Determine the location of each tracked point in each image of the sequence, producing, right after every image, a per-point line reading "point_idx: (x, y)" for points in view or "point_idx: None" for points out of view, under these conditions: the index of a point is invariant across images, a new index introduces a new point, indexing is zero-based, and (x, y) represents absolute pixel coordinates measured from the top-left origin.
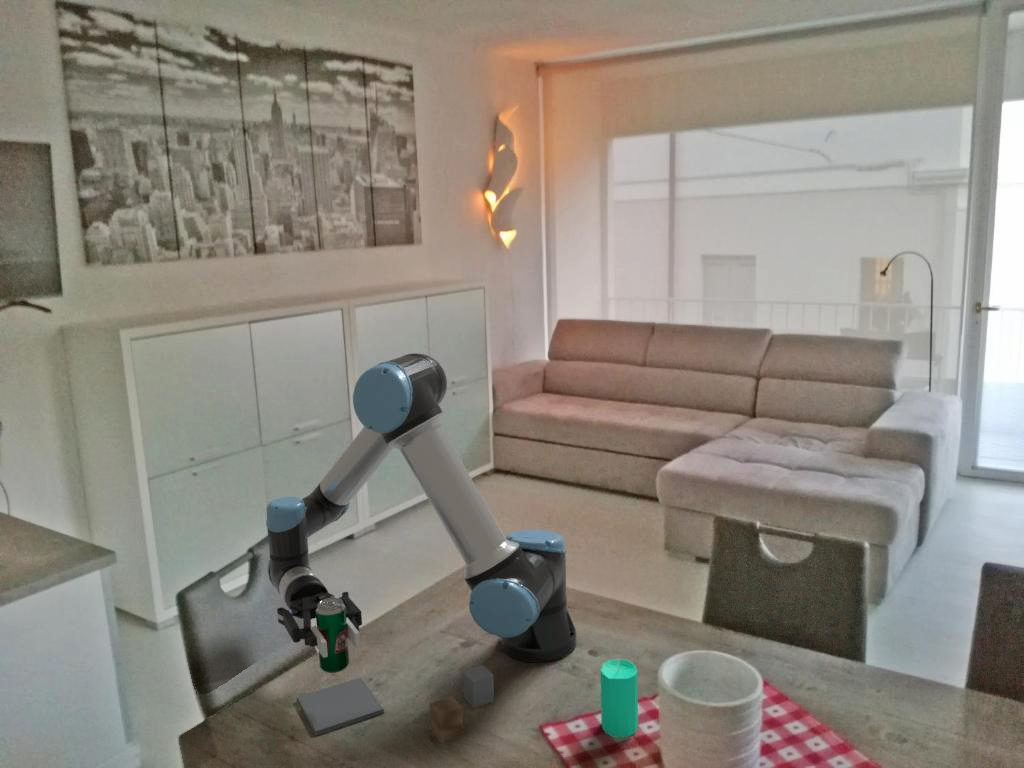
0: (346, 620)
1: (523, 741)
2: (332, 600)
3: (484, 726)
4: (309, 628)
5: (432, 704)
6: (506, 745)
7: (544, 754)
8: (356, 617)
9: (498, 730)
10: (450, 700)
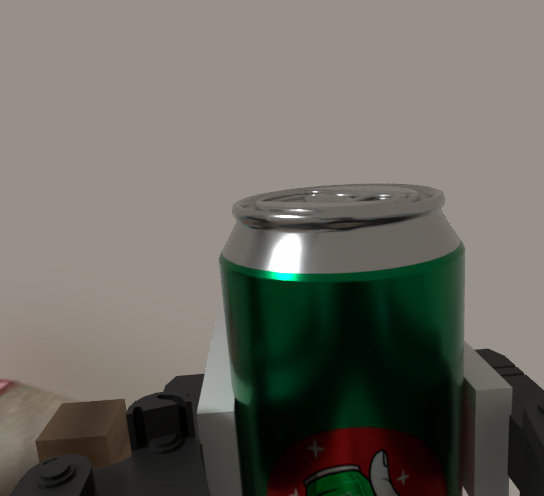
0: (224, 386)
1: (9, 421)
2: (308, 202)
3: (11, 477)
4: (529, 401)
5: (105, 430)
6: (42, 422)
7: (20, 393)
8: (107, 466)
9: (5, 457)
10: (55, 429)
